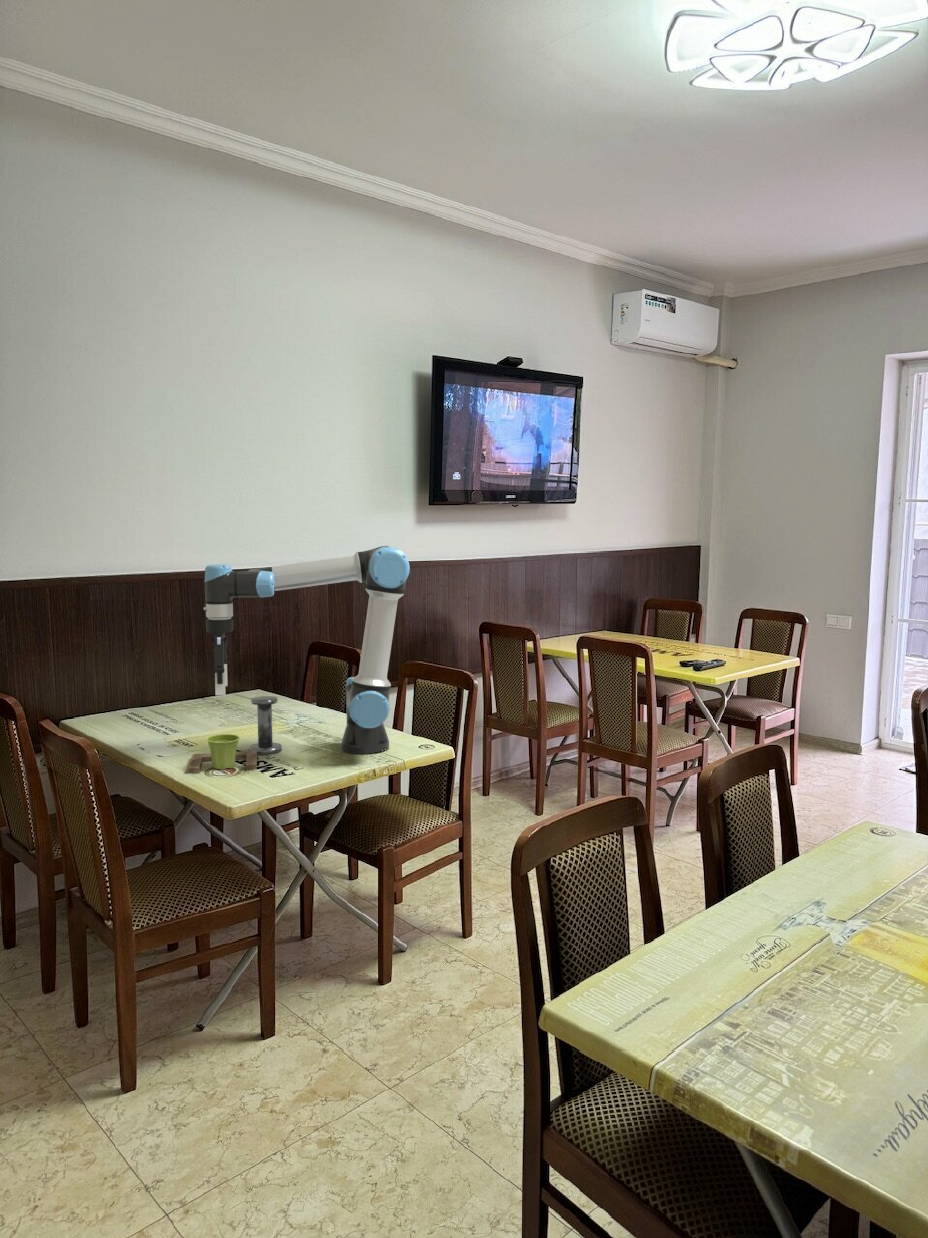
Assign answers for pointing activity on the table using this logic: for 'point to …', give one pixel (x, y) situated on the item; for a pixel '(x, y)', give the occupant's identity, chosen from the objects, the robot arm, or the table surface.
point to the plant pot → (223, 750)
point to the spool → (265, 726)
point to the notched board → (206, 757)
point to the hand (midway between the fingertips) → (221, 690)
